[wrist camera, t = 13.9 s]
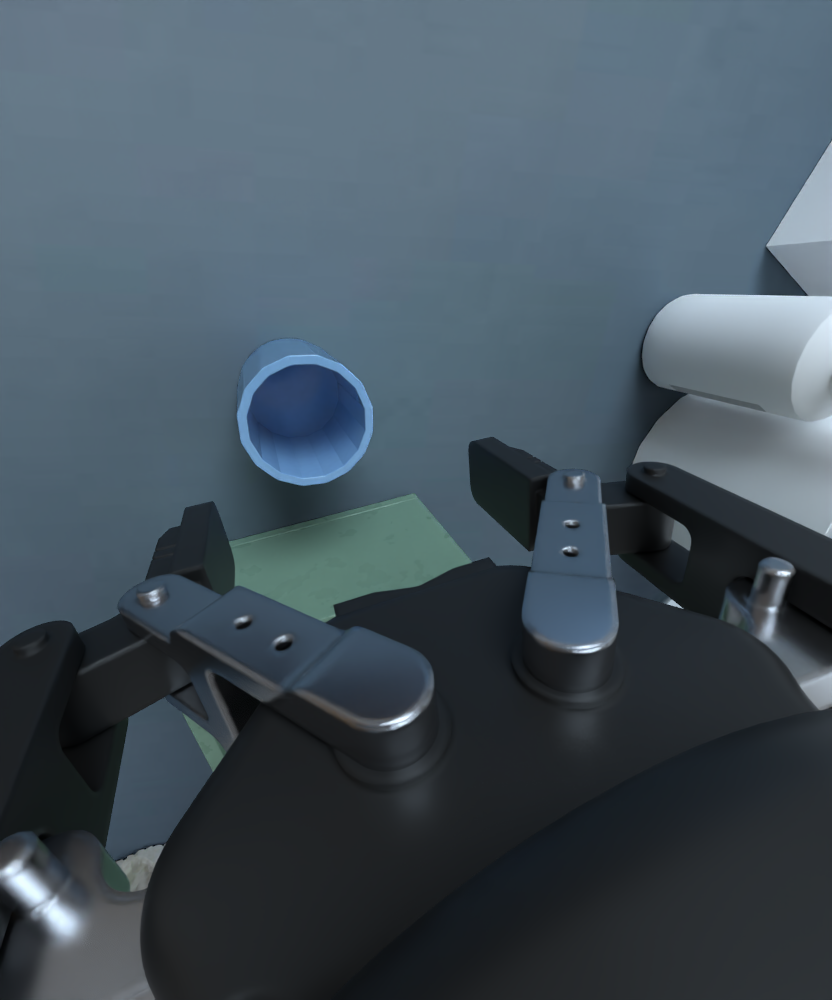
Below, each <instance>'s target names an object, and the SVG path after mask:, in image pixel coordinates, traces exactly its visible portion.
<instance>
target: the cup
mask: <svg viewBox="0 0 832 1000" xmlns="http://www.w3.org/2000/svg"><path fill="white" fill-rule="evenodd" d="M237 422H238V428H239V434H240V441H241V444H242V445H243V447H244V448H245V450H246V451H247V453H248V454H249V456H250V458H251V459H252V461H253V462H254V464H256V466H258V467H259V468H260V469H262V470H263V471H265V472H266V473H268V474H269V475H270V476H272V477H273V478H275V479H277V480H279V481H283V482H287V483H292V484H296V485H300V486H306V485H314V484H323V483H328V482H330V481H332V480H334V479H336V478H337V477H339V476H341V475H343V474H345V473H347V472H348V471H350V470H351V469H352V467H353V466H354V465H355V464H356V463H357V462H358V461H359V460H360V458H361V457H362V456H363V455H364V453H365V452H366V449H367V446H368V444H369V441H370V438H371V436H372V433H373V407H372V404H371V402H370V399H369V397H368V395H367V393H366V391H365V388H364V386H363V384H362V383H361V381H360V380H358V379H357V378H356V377H355V376H354V375H353V374H352V373H351V372H350V371H349V370H348V369H347V368H346V367H345V366H344V365H342V364H341V363H340V362H338V361H337V360H336V359H334V358H333V357H332V356H331V355H329V354H328V353H327V352H325V351H324V350H323V349H321V348H320V347H318V346H316V345H313V344H311V343H309V342H307V341H303V340H300V339H293V338H284V339H277V340H273V341H270V342H268V343H265V344H264V345H262V346H260V347H259V348H257V349H256V350H255V351H254V352H253V353H252V354H251V355H250V356H249V357H248V359H247V360H246V362H245V363H244V365H243V367H242V370H241V373H240V377H239V381H238V385H237Z"/></svg>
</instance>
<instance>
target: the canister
mask: <svg viewBox="0 0 832 1000" xmlns="http://www.w3.org/2000/svg"><path fill="white" fill-rule="evenodd" d="M639 462H661V463H667V464H670V465H673V466H676V467H678V468H680V469H682V470H684V471H686V472H689V473H691V474H693V475H695V476H697V477H699V478H702V479H704V480H706V481H708V482H710V483H712V484H715V485H717V486H719V487H721V488H723V489H725V490H728V491H730V492H732V493H734V494H736V495H738V496H741V497H743V498H745V499H747V500H749V501H751V502H753V503H756V504H758V505H760V506H762V507H764V508H766V509H769V510H771V511H773V512H775V513H777V514H779V515H782V516H784V517H786V518H788V519H790V520H792V521H795V522H797V523H799V524H801V525H803V526H805V527H808V528H810V529H812V530H814V531H816V532H818V533H820V534H823V535H825V536H827V537H829V538H831V539H832V415H831V416H829V417H827V418H825V419H821V420H817V421H813V422H807V421H802V420H797V419H793V418H788V417H784V416H780V415H776V414H772V413H767V412H763V411H759V410H755V409H751V408H746V407H742V406H738V405H734V404H730V403H726V402H721V401H717V400H713V399H709V398H705V397H700V396H696V395H692V394H687V395H686V396H684V397H682V398H680V399H679V400H678V401H677V402H676V403H675V404H674V405H673V406H672V407H671V408H670V409H669V410H667V411H666V412H665V413H664V414H663V415H662V416H661V417H660V418H659V419H658V420H657V421H656V423H655V424H654V426H653V427H652V429H651V430H650V432H649V433H648V434H647V436H646V437H645V439H644V440H643V442H642V443H641V445H640V446H639V449H638V451H637V454H636V456H635V458H634V461H633V463H632V464H635V463H639ZM672 540H673V541H675V542H676V543H678V544H679V545H681V546H683V547H684V548H686V549H687V550H689V551H690V546H691V536H690V533H689V531H688V530H687V528H686V527H685V526H684V525H682V524H681V523H679V522H678V521H676V520H675V522H674V528H673V534H672Z"/></svg>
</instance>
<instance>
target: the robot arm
mask: <svg viewBox="0 0 832 1000" xmlns="http://www.w3.org/2000/svg"><path fill="white" fill-rule="evenodd" d="M468 450H469V468H470V485H471V491H472V495H473V497H474V499H475V501H476V502H477V504H478V505H480V506H481V507H482V508H483V509H484V510H485V511H486V512H487V513H488V514H489V515H490V516H491V517H492V518H494V519H495V520H496V521H497V522H498V523H499V524H500V525H501V526H502V527H503V528H504V529H505V530H507V531H508V532H509V533H510V534H511V535H512V536H513V537H514V538H515V539H516V540H517V541H518V542H519V543H521V544H522V545H523V546H524V547H525V548H526V549H527V550H528V551H529V552H530V551H533V550H534V552H533V559H532V565H531V567H527V566H513V565H509V566H496V565H495V564H494V563H493V561H492V560H491V559H490V558H489V557H488V558H485V559H482V560H478V561H475V562H472V563H469V564H465V565H462V566H459V567H455V568H453V569H451V570H449V571H447V572H445V573H443V574H441V575H439V576H437V577H435V578H433V579H431V580H430V581H428V582H426V583H424V584H422V585H420V586H416V587H410V588H403V589H395V590H388V591H380V592H374V593H370V594H367V595H364V596H360V597H357V598H354V599H351V600H347V601H344V602H341V603H337V604H334V605H333V607H334V611H335V615H336V617H334V618H332V619H330V620H329V621H327V622H322V621H320V620H318V619H316V618H313V617H311V616H309V615H307V614H304V613H302V612H300V611H298V610H295V609H293V608H291V607H288V606H286V605H284V604H282V603H279V602H277V601H275V600H273V599H270V598H268V597H266V596H264V595H261V594H259V593H257V592H254V591H252V590H250V589H248V588H245V587H243V586H235V562H234V557H233V553H232V550H231V547H230V544H229V541H228V538H227V535H226V532H225V530H224V527H223V524H222V521H221V518H220V516H219V513H218V510H217V508H216V505H215V503H214V502H213V501H212V502H207V503H203V504H199V505H194V506H190V507H186V508H185V510H184V514H183V518H182V522H181V526H178V527H174V528H170V529H169V530H168V531H167V532H166V533H165V534H164V535H163V536H162V537H160V538H159V540H158V543H157V546H156V549H155V551H156V552H154V555H153V558H152V559H153V560H152V561H151V564H150V567H149V570H148V573H147V576H146V579H145V581H143V582H141V583H139V584H137V585H136V586H134V587H133V588H131V589H130V590H128V591H127V592H126V593H125V594H124V595H123V596H122V597H121V599H120V600H119V602H118V610H119V612H120V614H119V615H117V616H115V617H113V618H112V619H110V620H108V621H105V622H103V623H101V624H99V625H97V626H94V627H92V628H90V629H88V630H86V631H83V632H81V633H79V634H78V633H77V631H76V630H75V628H74V626H73V625H72V623H70V622H68V621H52V622H48V623H44V624H41V625H38V626H35V627H33V628H30V629H28V630H26V631H24V632H22V633H20V634H18V635H17V636H15V637H13V638H12V639H10V640H9V641H8V642H6V643H5V644H4V645H2V646H1V647H0V1000H832V539H831V538H829V537H827V536H825V535H823V534H820V533H818V532H816V531H814V530H812V529H810V528H808V527H805V526H803V525H801V524H799V523H797V522H795V521H792V520H790V519H788V518H786V517H784V516H782V515H779V514H777V513H775V512H773V511H771V510H769V509H766V508H764V507H762V506H760V505H758V504H756V503H753V502H751V501H749V500H747V499H745V498H743V497H741V496H738V495H736V494H734V493H732V492H730V491H728V490H725V489H723V488H721V487H719V486H717V485H715V484H712V483H710V482H708V481H706V480H704V479H702V478H699V477H697V476H695V475H693V474H691V473H689V472H686V471H684V470H682V469H680V468H678V467H676V466H673V465H670V464H667V463H661V462H639V463H635V464H632V465H630V466H629V467H628V468H627V474H626V481H622V482H611V483H601V481H600V477H599V476H598V475H597V474H595V473H593V472H591V471H587V470H583V469H563V470H556V469H554V468H553V467H551V466H549V465H547V464H546V463H544V462H541V461H540V460H539V459H537V458H536V457H533V456H532V455H530V454H529V453H527V452H525V451H524V450H520V449H516V448H512V447H509V446H507V445H505V444H504V443H502V442H501V441H499V440H497V439H496V438H494V437H489V438H484V439H480V440H476V441H472V442H470V444H469V449H468ZM675 520H676V521H678V522H679V523H681V524H682V525H684V526H685V527H686V528H687V530H688V531H689V533H690V536H691V546H690V551H689V550H687V549H686V548H684V547H683V546H681V545H679V544H678V543H676V542H675V541H673V540H672V534H673V528H674V522H675ZM615 554H618V555H619V556H620V558H621V559H622V560H624V561H625V562H626V563H627V564H629V565H630V566H631V567H632V568H634V569H635V570H636V571H637V572H639V573H640V574H641V575H642V576H644V577H645V578H646V579H647V580H649V581H650V582H651V583H652V584H654V585H655V586H656V587H657V588H659V589H660V590H661V591H662V592H664V593H665V594H666V595H667V596H669V597H670V598H671V599H672V600H674V601H675V602H676V603H677V604H679V605H680V606H681V607H682V608H684V609H681V608H678V607H674V606H671V605H667V604H664V603H660V602H656V601H653V600H649V599H646V598H642V597H638V596H635V595H631V594H628V593H624V592H620V591H617V590H616V587H615V580H614V579H613V578H612V572H611V561H610V555H615ZM164 697H165V698H166V700H167V701H168V702H169V703H170V704H172V705H173V706H174V707H176V708H177V709H178V710H180V711H181V712H182V713H184V714H185V715H186V716H188V717H189V718H190V719H191V720H193V721H194V722H195V723H197V724H198V725H199V726H201V727H202V728H203V729H205V730H206V731H207V732H208V733H210V734H211V735H212V736H213V737H214V738H215V739H216V740H217V741H218V742H219V743H220V744H221V746H222V747H223V749H224V750H225V751H226V754H225V755H224V757H223V758H222V760H221V761H220V763H219V764H218V766H217V767H216V769H215V770H214V772H213V773H212V775H211V776H210V778H209V779H208V780H207V782H206V783H205V785H204V786H203V788H202V789H201V791H200V792H199V794H198V795H197V797H196V798H195V800H194V801H193V803H192V804H191V806H190V807H189V808H188V810H187V811H186V813H185V814H184V816H183V817H182V819H181V820H180V822H179V823H178V825H177V826H176V828H175V829H174V831H173V833H172V834H171V836H170V837H169V839H168V841H167V842H166V844H165V845H164V847H163V850H162V852H161V854H160V856H159V858H158V860H157V862H156V864H155V867H154V870H153V872H152V875H151V878H150V880H149V883H148V887H147V888H146V889H143V890H139V891H134V892H131V891H130V883H129V880H128V878H127V876H126V874H125V873H124V872H123V870H122V869H121V868H120V867H119V865H118V864H117V863H116V862H115V860H114V859H113V858H112V857H111V855H110V854H109V853H108V852H107V850H106V849H105V846H106V841H107V835H108V830H109V825H110V819H111V814H112V808H113V803H114V797H115V792H116V786H117V781H118V775H119V770H120V765H121V759H122V754H123V748H124V743H125V737H126V732H127V726H128V717H130V716H131V715H133V714H135V713H137V712H139V711H140V710H142V709H144V708H146V707H148V706H149V705H151V704H153V703H155V702H156V701H158V700H160V699H162V698H164Z"/></svg>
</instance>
